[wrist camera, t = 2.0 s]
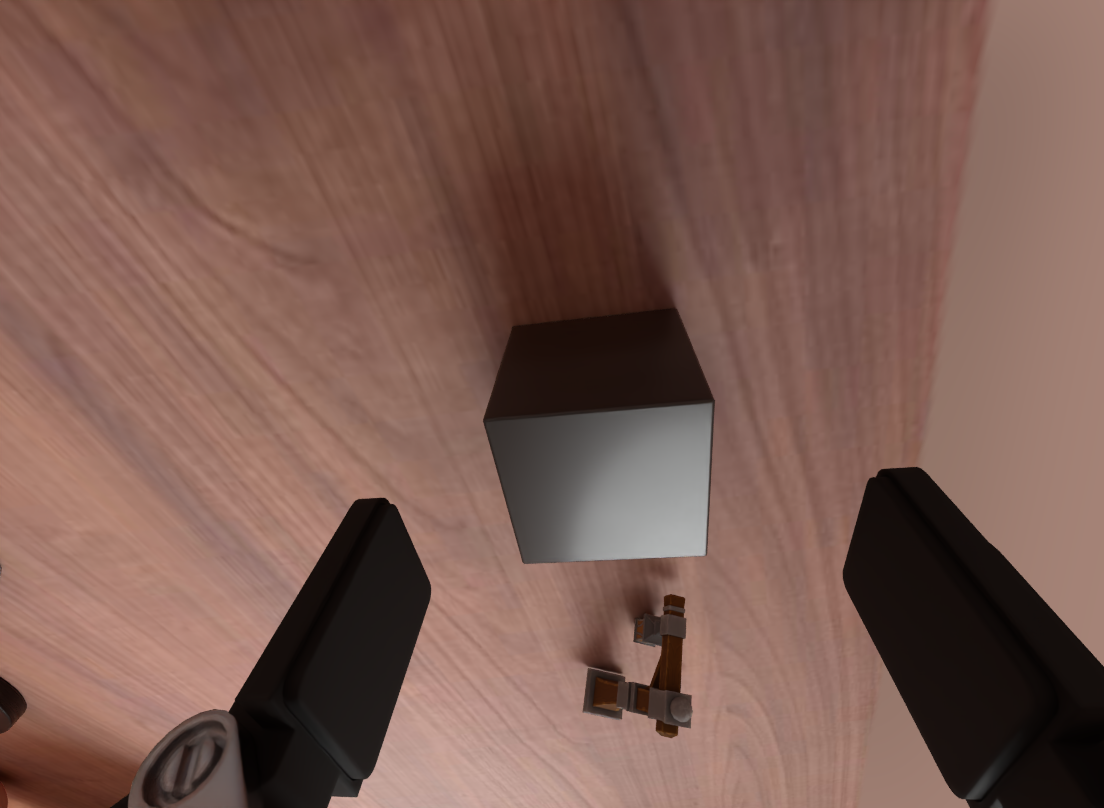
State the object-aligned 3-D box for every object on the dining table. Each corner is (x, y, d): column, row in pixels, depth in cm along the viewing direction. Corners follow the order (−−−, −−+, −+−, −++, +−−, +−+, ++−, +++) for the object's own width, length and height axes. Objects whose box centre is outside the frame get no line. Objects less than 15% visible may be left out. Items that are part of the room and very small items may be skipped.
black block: (511, 325, 13) (482, 419, 9) (677, 306, 12) (715, 399, 9) (538, 450, 15) (522, 565, 11) (677, 440, 15) (707, 556, 11)
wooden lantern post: (711, 597, 17) (712, 747, 15) (627, 619, 24) (619, 725, 22) (665, 586, 17) (659, 736, 15) (594, 612, 24) (582, 717, 21)
